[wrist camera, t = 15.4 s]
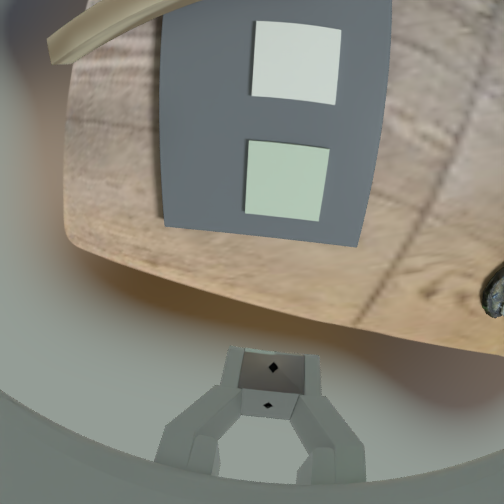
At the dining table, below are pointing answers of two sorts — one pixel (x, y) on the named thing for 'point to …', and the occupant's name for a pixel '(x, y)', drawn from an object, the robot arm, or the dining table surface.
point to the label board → (272, 115)
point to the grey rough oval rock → (494, 296)
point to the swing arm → (104, 26)
